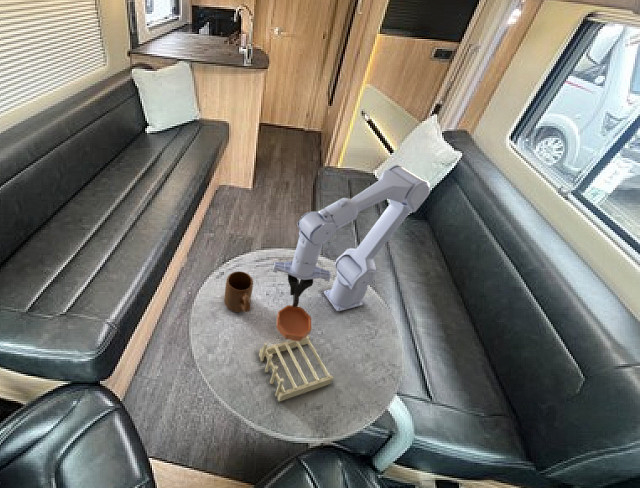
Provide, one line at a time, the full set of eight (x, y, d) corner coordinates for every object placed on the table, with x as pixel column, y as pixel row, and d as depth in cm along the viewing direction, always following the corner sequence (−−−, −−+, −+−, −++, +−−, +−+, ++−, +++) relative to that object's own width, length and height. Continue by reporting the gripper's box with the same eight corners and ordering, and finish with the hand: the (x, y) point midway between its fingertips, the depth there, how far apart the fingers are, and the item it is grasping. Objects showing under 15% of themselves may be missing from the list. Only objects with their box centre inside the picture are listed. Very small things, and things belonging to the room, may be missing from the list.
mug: (258, 323, 90) (263, 301, 84) (232, 328, 87) (235, 306, 82) (244, 290, 99) (248, 269, 93) (221, 295, 97) (223, 272, 91)
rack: (306, 341, 87) (312, 325, 83) (330, 383, 78) (338, 368, 74) (257, 355, 82) (261, 339, 78) (278, 402, 73) (283, 386, 69)
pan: (310, 343, 79) (314, 334, 76) (275, 337, 80) (278, 327, 77) (308, 291, 91) (312, 281, 88) (278, 286, 92) (281, 276, 89)
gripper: (333, 250, 83) (320, 286, 91) (277, 241, 83) (269, 278, 91) (336, 269, 77) (322, 306, 85) (276, 259, 78) (268, 297, 86)
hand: (295, 293), depth 88 cm, fingers closed on pan
